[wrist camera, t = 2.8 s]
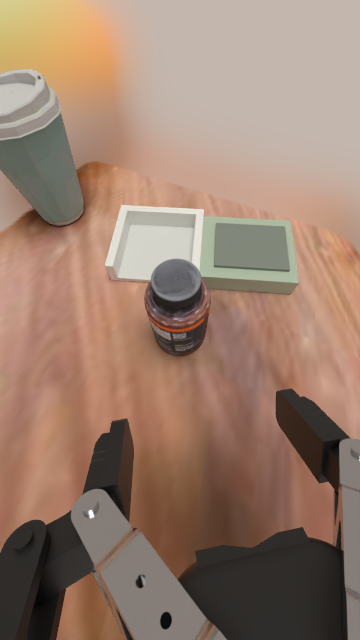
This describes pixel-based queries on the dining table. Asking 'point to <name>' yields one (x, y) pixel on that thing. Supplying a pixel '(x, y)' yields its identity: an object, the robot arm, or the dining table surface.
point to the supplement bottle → (178, 306)
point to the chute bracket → (153, 240)
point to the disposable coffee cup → (37, 147)
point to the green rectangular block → (248, 255)
